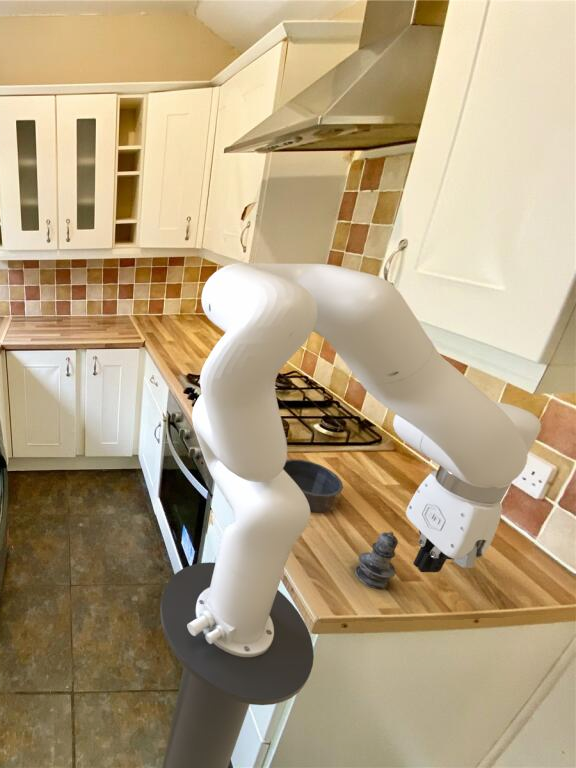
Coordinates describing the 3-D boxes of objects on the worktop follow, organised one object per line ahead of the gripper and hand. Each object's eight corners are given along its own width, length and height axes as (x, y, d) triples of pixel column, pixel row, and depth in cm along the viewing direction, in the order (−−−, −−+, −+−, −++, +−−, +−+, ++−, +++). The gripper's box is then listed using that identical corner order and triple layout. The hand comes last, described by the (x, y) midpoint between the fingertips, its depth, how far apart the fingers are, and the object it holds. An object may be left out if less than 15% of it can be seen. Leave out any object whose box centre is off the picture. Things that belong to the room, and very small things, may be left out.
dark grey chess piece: (379, 567, 83) (400, 522, 78) (395, 592, 78) (419, 546, 73) (348, 563, 84) (366, 518, 79) (361, 587, 79) (382, 541, 74)
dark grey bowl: (314, 520, 95) (320, 504, 93) (260, 485, 106) (264, 469, 104) (349, 499, 101) (355, 483, 99) (294, 468, 113) (298, 453, 110)
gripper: (407, 452, 68) (373, 534, 76) (491, 518, 55) (439, 609, 63) (452, 452, 68) (413, 534, 76) (548, 517, 55) (489, 608, 63)
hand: (425, 568), depth 69 cm, fingers closed
